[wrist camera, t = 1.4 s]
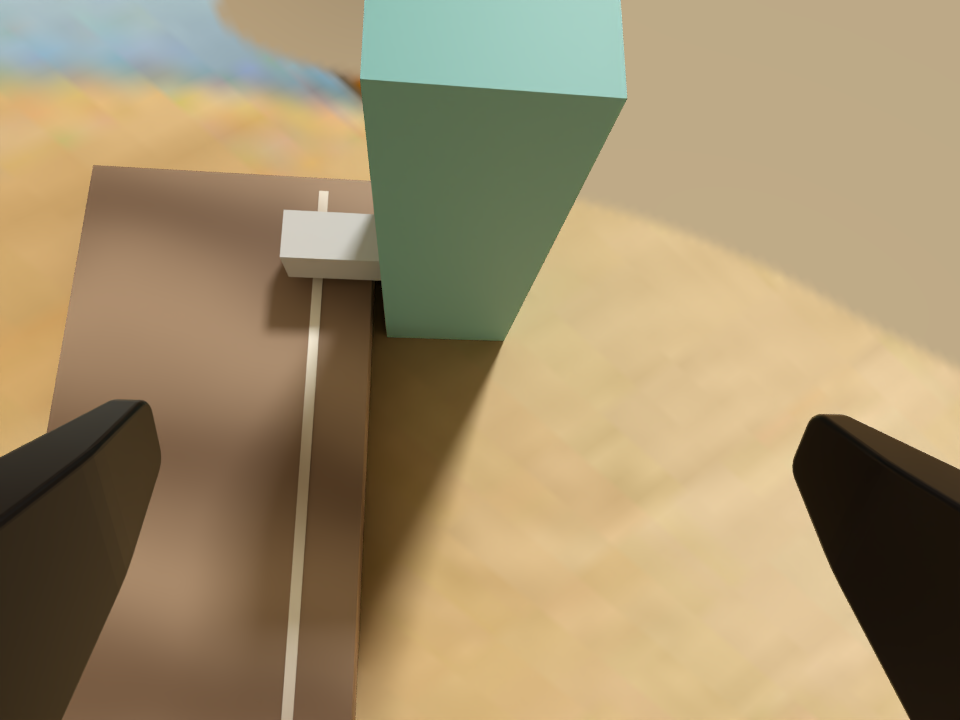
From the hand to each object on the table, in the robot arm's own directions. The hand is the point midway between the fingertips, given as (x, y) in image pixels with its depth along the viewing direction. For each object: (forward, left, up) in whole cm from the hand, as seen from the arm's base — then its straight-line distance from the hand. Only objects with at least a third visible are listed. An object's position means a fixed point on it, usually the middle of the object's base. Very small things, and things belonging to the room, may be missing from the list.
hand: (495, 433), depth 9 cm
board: (+3, +6, -12) cm, 14 cm away
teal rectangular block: (+7, -1, -12) cm, 14 cm away
